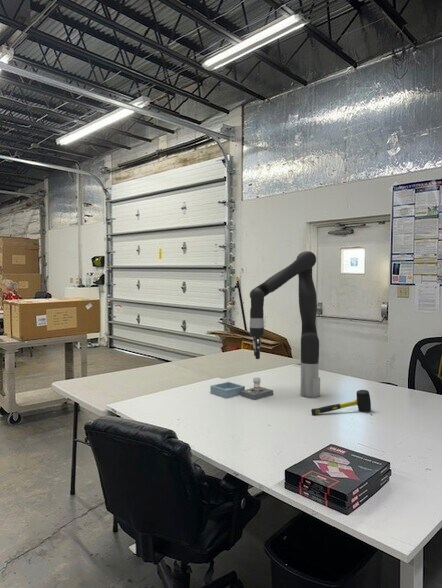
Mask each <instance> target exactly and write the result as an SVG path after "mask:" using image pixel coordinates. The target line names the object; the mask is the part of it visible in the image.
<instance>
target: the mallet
mask: <svg viewBox="0 0 442 588" xmlns="http://www.w3.org/2000/svg"><path fill="white" fill-rule="evenodd" d="M353 406H357V408H358V411H359V412H361V413H368V412H370V411H372V402H371V395H370V391H369V390H367V389H359V390H356V399H355V400H353V401H348V402H343V403H336V404H331V405H325V406H321V407H318V408H317V407H316V408H311V411H310V412H311V415H312V416H315V415H319V414H325V413H329V412H333V411H337V410H341V409H345V408H348V407H353Z"/></svg>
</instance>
